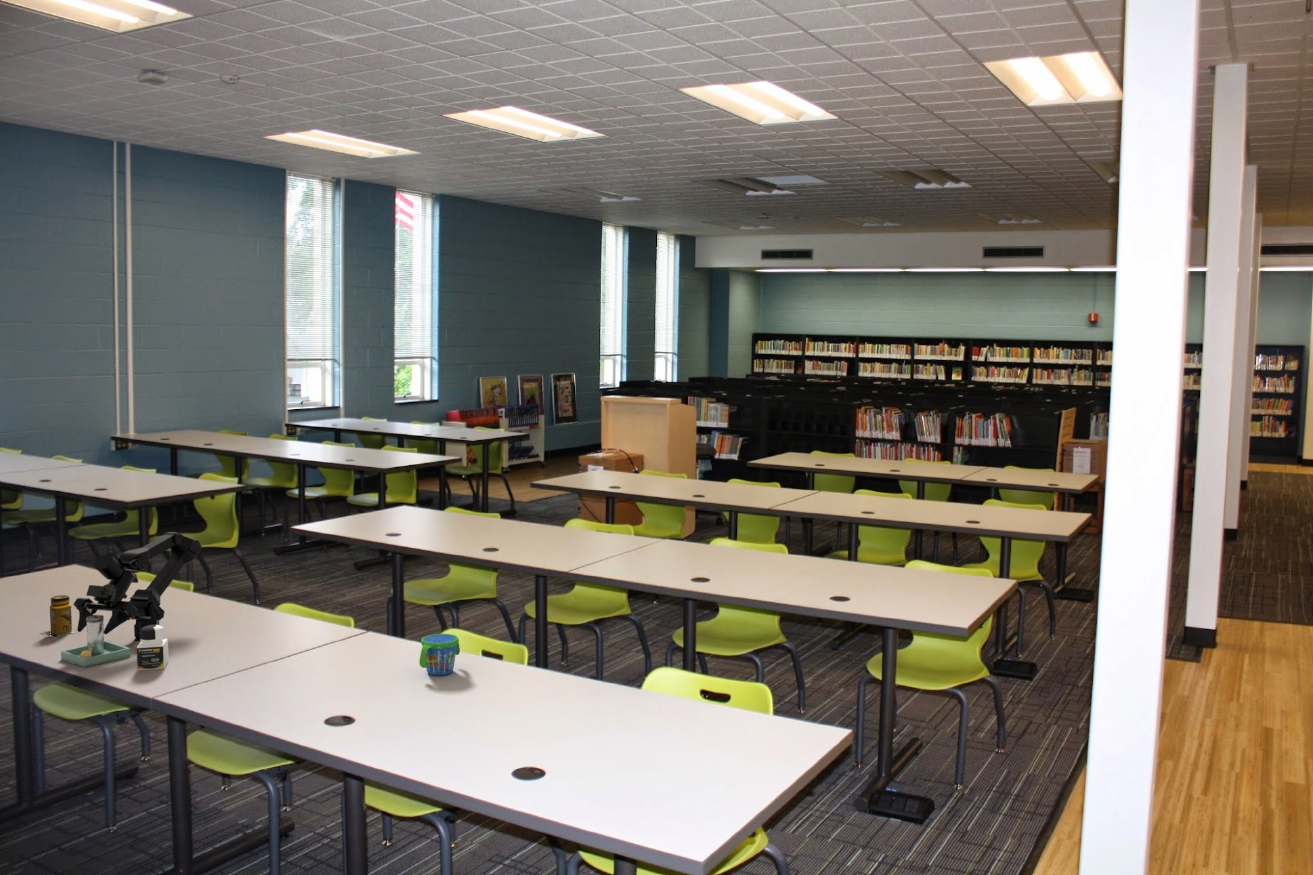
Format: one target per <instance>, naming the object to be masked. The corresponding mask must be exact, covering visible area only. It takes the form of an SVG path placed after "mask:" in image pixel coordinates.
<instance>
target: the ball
mask: <svg viewBox="0 0 1313 875" xmlns="http://www.w3.org/2000/svg"><path fill="white" fill-rule="evenodd" d="M91 656H92V654H91V652H90V651H88V650H85V651H83V652H82V653H81V654H80V657H83V658H89V657H91Z"/></svg>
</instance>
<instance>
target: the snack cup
mask: <svg viewBox="0 0 1313 875" xmlns="http://www.w3.org/2000/svg"><path fill="white" fill-rule="evenodd" d="M459 641H460V640H459V636H457V635H456V634H452V633H434V634H429V635H426V636H425V635H424V636H423V637H422V638H421V640H420V643H421V646H422V648H421V650H420V656H419V662H418V663H419V666H420V667H421V668H423V669H426V672H427V673H428V674H429V675H431V676H446V675H449V674H451V673H452V672H454V667H455V662H456V661H455V660H456V656H457V655H460V651H461V647H460V642H459Z"/></svg>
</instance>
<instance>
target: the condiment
mask: <svg viewBox="0 0 1313 875" xmlns="http://www.w3.org/2000/svg"><path fill="white" fill-rule="evenodd" d="M70 602H71V601H70V596H69V595H67V594H64V595H61V594H60V595H55V596H52V597H50V606H49V618H50V619H49V620H50V623H49V624H50V630H49V631H41V632H40V633H41V635H43V637H45V638H52V637H54V636H52V635H57V636H56V637H58V636H66V635H68V634H67V633H71V632H72V630H73V621H72V617H73V616H72V604H71V603H70ZM50 633H51V634H50ZM72 633H73V632H72ZM64 634H65V635H64ZM73 634H76V631H74V633H73ZM50 635H51V636H50Z"/></svg>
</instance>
